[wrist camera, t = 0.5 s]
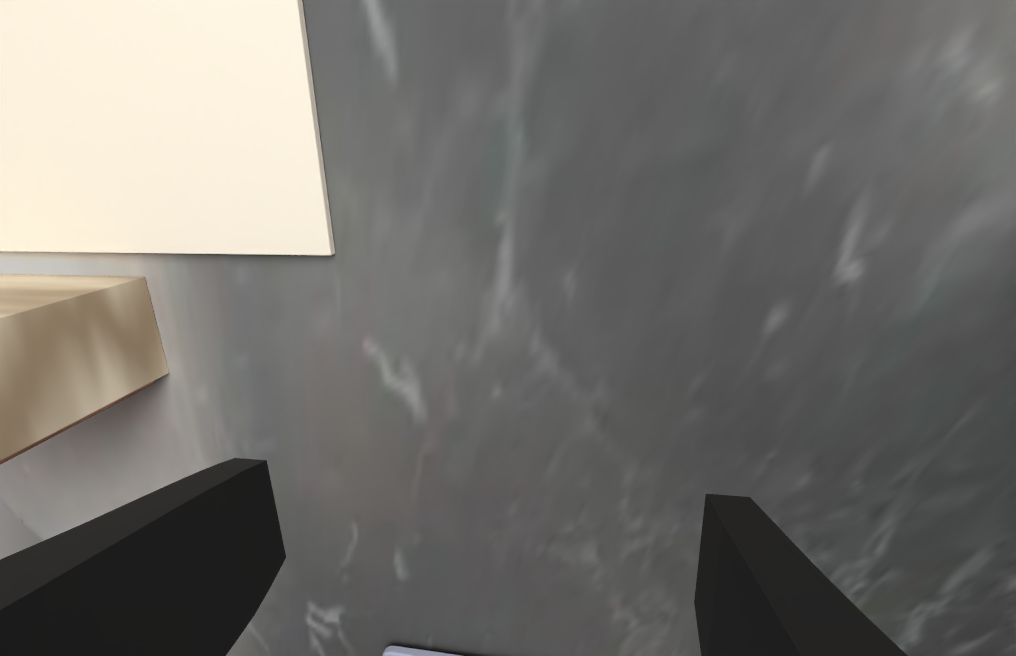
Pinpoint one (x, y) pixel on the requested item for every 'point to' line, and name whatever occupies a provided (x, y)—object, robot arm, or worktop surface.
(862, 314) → the worktop surface
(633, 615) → the worktop surface
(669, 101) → the worktop surface
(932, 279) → the worktop surface
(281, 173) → the mat
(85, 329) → the marked block
